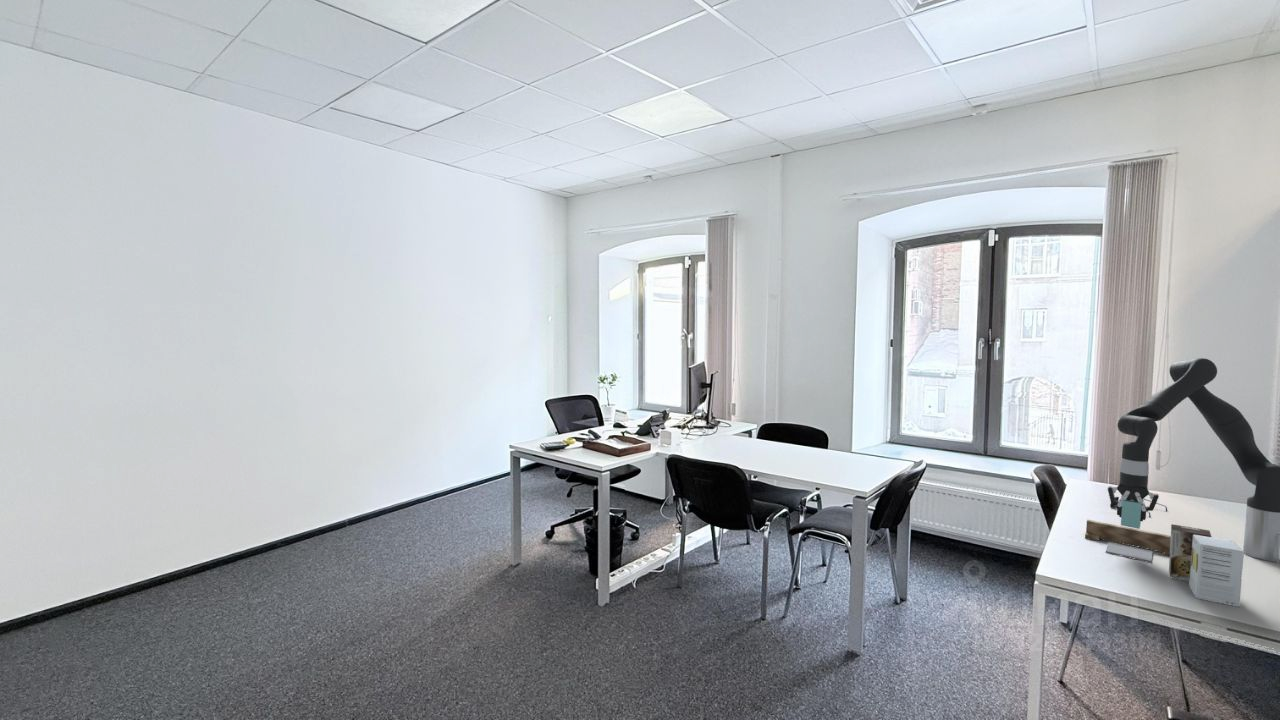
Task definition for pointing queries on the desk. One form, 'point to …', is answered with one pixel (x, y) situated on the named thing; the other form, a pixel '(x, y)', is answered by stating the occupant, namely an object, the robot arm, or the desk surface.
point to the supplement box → (1216, 570)
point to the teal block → (1131, 514)
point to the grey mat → (1129, 551)
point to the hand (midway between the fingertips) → (1130, 518)
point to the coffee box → (1182, 550)
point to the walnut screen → (1128, 536)
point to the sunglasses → (1144, 499)
